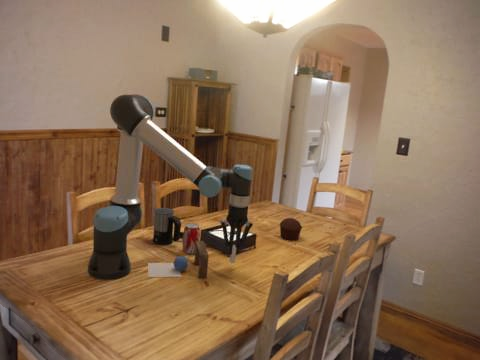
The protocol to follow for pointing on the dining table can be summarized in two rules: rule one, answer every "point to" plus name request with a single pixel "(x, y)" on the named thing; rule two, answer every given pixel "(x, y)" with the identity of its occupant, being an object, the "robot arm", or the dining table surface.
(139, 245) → the dining table surface
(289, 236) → the muffin
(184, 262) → the ball
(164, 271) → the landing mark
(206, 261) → the bridge
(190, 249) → the soda can
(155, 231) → the milk frother
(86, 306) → the dining table surface
